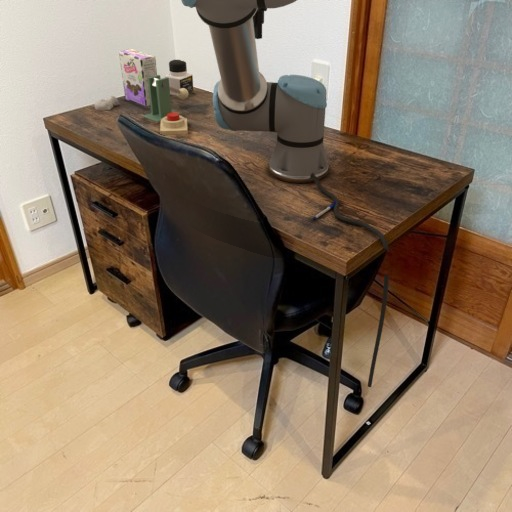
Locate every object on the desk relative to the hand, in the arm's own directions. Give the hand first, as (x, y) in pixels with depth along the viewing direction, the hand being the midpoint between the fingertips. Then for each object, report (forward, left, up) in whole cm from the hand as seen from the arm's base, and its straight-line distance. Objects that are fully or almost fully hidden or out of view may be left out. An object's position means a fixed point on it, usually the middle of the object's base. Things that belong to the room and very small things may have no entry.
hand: (256, 37), depth 139 cm
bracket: (+23, +28, -28) cm, 46 cm away
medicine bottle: (+46, +22, -29) cm, 58 cm away
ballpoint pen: (-44, -10, -29) cm, 54 cm away
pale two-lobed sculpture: (+32, +46, -29) cm, 63 cm away
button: (+10, +24, -25) cm, 36 cm away
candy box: (+39, +35, -29) cm, 60 cm away
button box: (+10, +24, -28) cm, 38 cm away
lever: (+25, +25, -22) cm, 41 cm away
